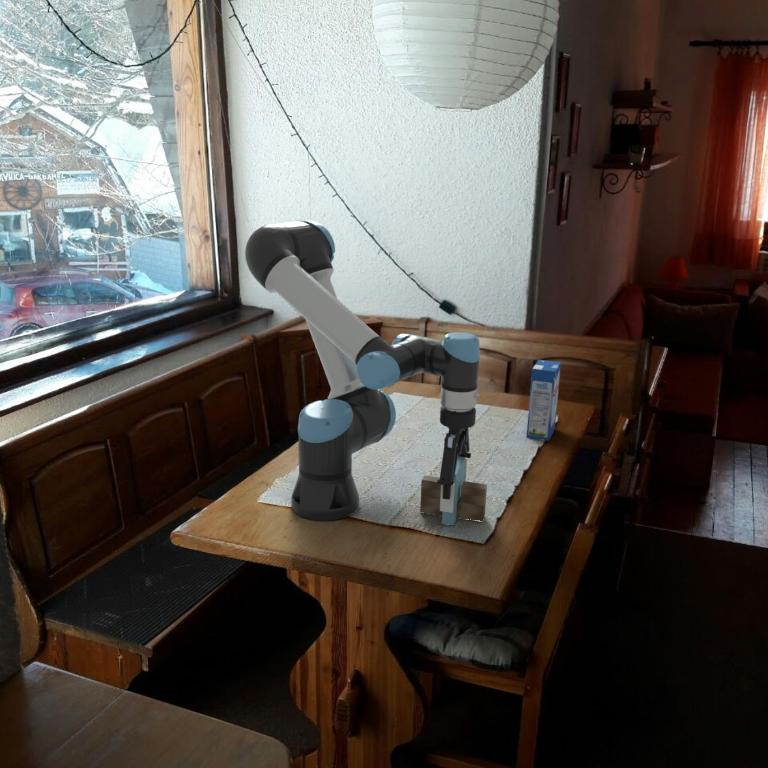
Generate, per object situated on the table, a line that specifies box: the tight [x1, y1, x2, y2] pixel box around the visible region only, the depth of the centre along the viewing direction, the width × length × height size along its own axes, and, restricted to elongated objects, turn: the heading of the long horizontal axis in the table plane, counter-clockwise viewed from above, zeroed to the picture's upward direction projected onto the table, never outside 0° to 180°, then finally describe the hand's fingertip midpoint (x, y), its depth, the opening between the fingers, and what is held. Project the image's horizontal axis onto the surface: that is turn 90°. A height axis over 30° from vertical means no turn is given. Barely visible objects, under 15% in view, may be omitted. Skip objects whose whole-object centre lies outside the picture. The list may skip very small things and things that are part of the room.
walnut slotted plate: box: [419, 475, 488, 522], centre depth 176 cm, size 14×2×8 cm, turn 73°
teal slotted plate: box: [441, 457, 466, 525], centre depth 175 cm, size 10×2×12 cm, turn 163°
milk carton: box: [526, 359, 562, 442], centre depth 223 cm, size 10×6×20 cm, turn 159°
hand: (453, 497), depth 175 cm, fingers open, 13 cm apart
